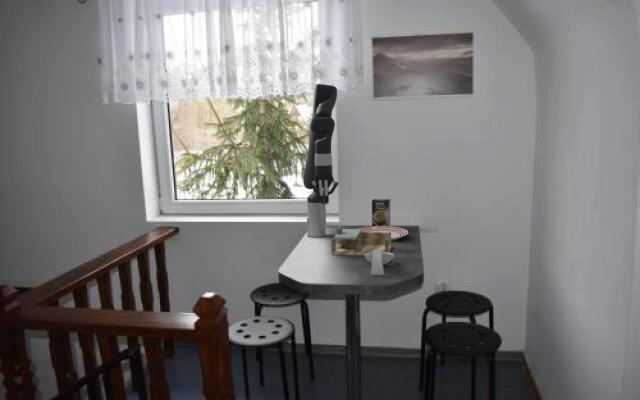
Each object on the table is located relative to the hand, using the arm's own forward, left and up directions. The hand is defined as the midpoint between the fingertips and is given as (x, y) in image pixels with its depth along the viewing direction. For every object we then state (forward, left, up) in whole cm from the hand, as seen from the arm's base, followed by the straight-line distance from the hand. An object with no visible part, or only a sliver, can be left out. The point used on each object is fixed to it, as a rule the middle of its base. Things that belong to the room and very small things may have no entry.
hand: (324, 204), depth 216 cm
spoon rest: (+25, -23, -22) cm, 41 cm away
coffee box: (+20, +50, -21) cm, 58 cm away
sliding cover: (+10, 0, -14) cm, 17 cm away
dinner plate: (+21, +30, -22) cm, 42 cm away
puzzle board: (+16, 0, -21) cm, 26 cm away
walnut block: (+10, 0, -20) cm, 23 cm away
